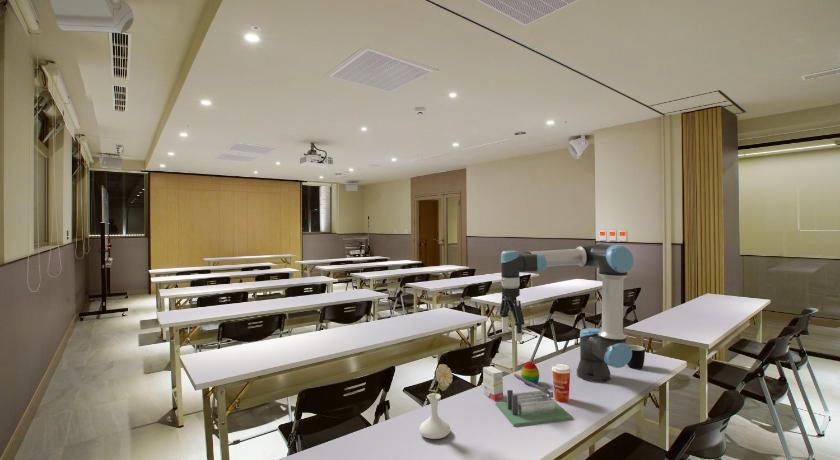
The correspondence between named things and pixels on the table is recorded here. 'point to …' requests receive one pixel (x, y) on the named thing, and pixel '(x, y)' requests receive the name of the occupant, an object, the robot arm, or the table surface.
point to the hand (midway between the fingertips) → (511, 336)
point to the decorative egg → (530, 373)
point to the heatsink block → (535, 403)
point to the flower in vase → (434, 424)
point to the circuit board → (519, 421)
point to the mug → (637, 357)
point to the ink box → (493, 383)
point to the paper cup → (561, 382)
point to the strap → (531, 383)
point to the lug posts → (512, 402)
